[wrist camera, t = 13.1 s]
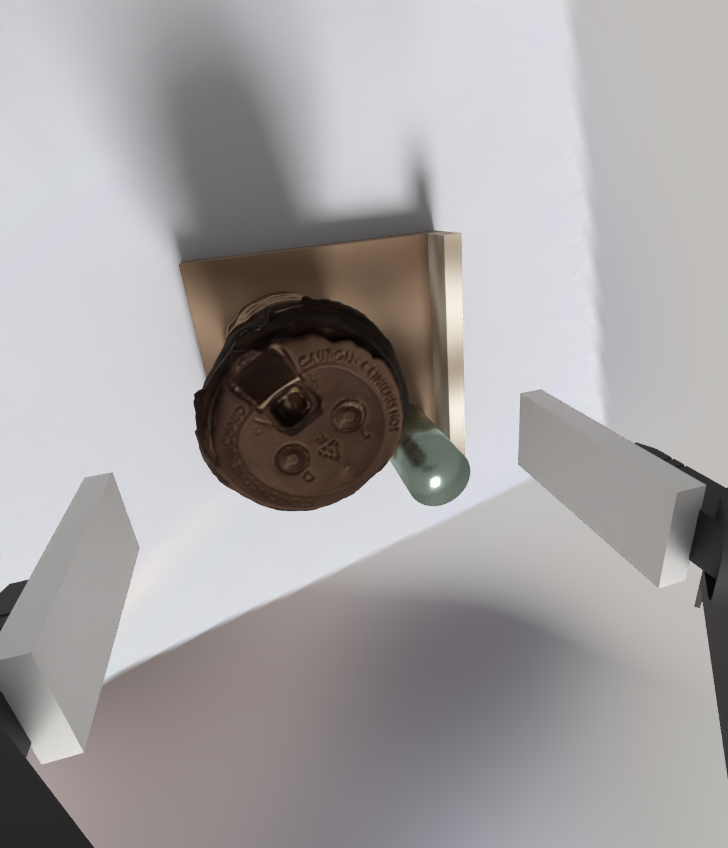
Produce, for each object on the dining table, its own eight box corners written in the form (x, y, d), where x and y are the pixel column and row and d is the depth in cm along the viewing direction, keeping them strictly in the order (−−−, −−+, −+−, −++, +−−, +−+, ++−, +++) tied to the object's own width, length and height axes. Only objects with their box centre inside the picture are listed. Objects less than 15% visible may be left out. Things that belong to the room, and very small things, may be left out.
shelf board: (181, 262, 28) (174, 269, 24) (434, 230, 30) (461, 233, 27) (233, 477, 34) (233, 509, 30) (442, 435, 36) (465, 460, 33)
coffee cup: (202, 262, 27) (179, 301, 15) (353, 267, 29) (436, 306, 17) (212, 413, 30) (199, 541, 18) (347, 409, 32) (412, 521, 20)
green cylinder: (372, 408, 32) (406, 455, 26) (424, 398, 33) (469, 441, 27) (377, 456, 34) (410, 512, 28) (427, 446, 34) (470, 498, 28)
